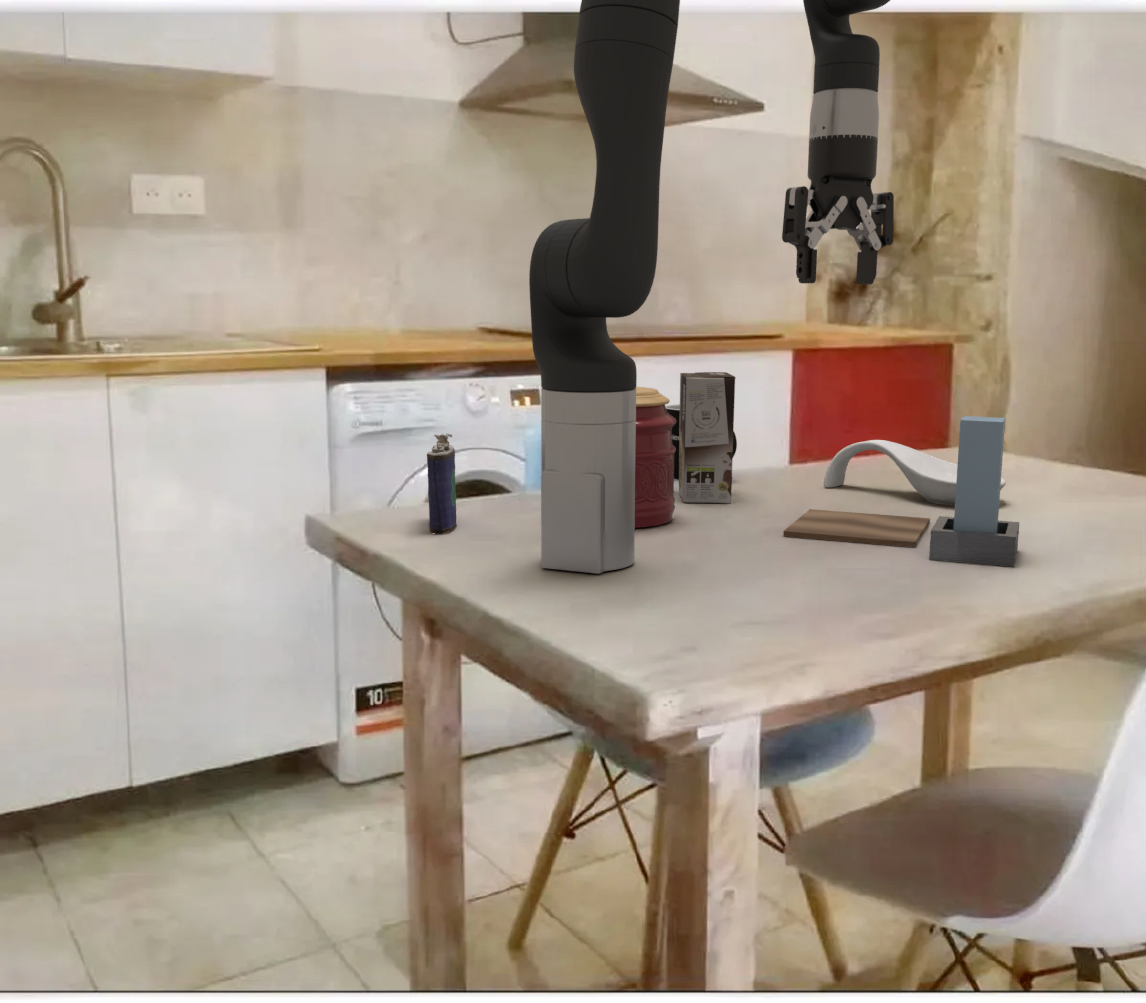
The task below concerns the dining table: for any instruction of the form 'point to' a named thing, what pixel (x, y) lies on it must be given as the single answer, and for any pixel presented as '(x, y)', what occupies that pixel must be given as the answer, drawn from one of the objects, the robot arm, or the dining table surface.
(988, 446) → the peg
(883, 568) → the dining table surface
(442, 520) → the flask
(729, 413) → the coffee box
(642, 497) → the canister
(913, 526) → the board
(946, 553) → the collar
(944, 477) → the spoon rest
